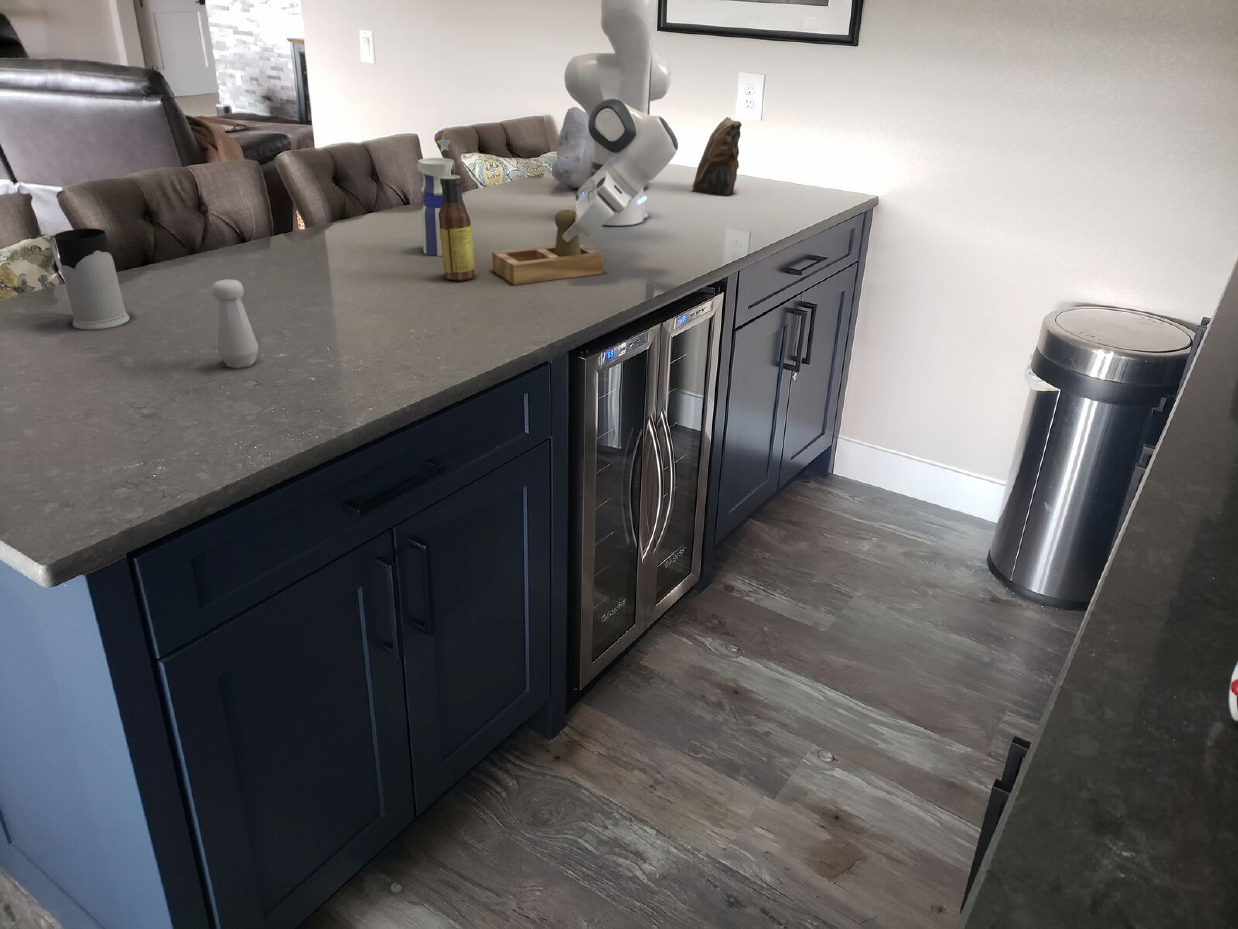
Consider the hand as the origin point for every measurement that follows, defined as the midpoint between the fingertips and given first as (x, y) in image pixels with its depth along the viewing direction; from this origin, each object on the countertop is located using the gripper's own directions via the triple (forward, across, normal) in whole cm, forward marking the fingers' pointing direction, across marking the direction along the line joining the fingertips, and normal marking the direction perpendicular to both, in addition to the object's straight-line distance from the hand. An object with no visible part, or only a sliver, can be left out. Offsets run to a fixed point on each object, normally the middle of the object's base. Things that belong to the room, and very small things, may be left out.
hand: (564, 235), depth 191 cm
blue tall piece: (+24, -14, -14) cm, 31 cm away
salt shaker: (+40, +54, -30) cm, 74 cm away
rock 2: (-26, -85, +36) cm, 96 cm away
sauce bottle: (+20, +6, -10) cm, 24 cm away
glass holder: (+63, +33, -53) cm, 89 cm away
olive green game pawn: (+4, 0, +5) cm, 6 cm away
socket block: (+8, +2, +3) cm, 8 cm away
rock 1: (-2, -88, +13) cm, 89 cm away
